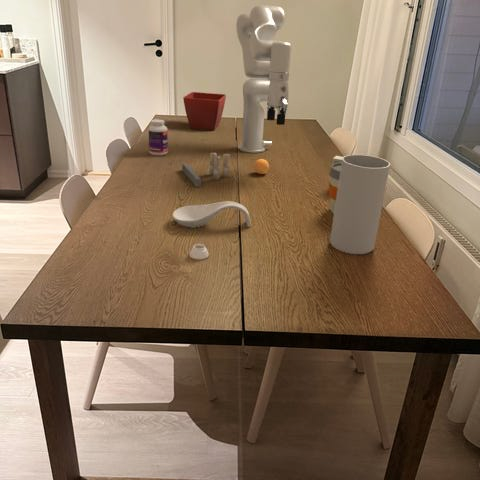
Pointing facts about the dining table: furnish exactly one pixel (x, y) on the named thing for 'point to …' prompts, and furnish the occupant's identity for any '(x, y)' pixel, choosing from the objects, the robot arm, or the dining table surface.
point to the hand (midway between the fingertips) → (275, 122)
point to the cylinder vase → (359, 203)
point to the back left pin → (217, 167)
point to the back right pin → (212, 163)
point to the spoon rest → (205, 213)
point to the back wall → (191, 175)
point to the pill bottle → (158, 138)
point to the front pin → (226, 165)
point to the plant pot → (204, 110)
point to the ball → (261, 166)
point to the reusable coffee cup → (334, 184)
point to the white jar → (199, 252)
